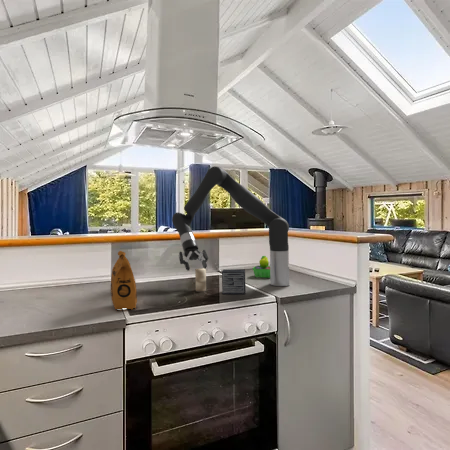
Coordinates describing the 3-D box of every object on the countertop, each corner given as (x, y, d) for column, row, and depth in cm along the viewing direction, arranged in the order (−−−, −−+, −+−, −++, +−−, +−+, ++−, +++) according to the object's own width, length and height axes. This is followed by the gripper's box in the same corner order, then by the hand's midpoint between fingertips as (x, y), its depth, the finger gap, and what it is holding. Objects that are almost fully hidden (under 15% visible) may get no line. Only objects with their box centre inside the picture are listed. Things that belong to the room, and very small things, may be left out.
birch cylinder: (206, 288, 154) (206, 268, 154) (205, 291, 149) (205, 270, 149) (196, 288, 155) (196, 268, 154) (194, 291, 150) (194, 270, 149)
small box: (245, 290, 150) (245, 268, 149) (245, 294, 143) (245, 271, 142) (223, 290, 151) (223, 268, 150) (221, 294, 144) (221, 271, 144)
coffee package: (110, 312, 121) (108, 255, 120) (111, 303, 133) (109, 251, 132) (138, 309, 124) (136, 253, 123) (136, 301, 136) (134, 249, 135)
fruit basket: (252, 277, 178) (252, 257, 177) (255, 274, 186) (255, 255, 186) (272, 278, 175) (272, 258, 174) (275, 275, 183) (275, 255, 182)
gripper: (177, 239, 160) (184, 265, 150) (203, 237, 166) (212, 263, 157) (174, 248, 165) (181, 274, 156) (200, 246, 171) (208, 271, 162)
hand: (197, 268), depth 156 cm, fingers open, 8 cm apart
